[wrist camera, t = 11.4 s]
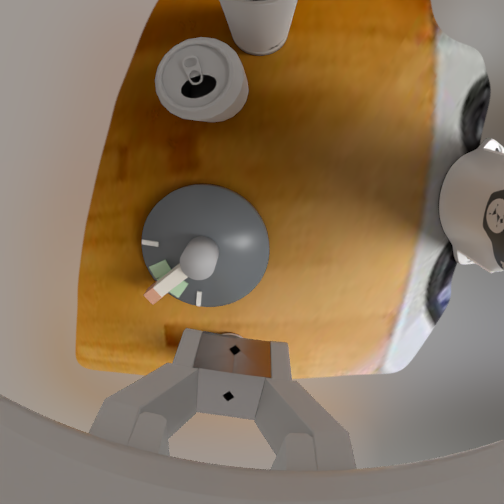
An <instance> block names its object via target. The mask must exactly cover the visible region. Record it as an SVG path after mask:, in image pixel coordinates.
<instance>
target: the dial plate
mask: <svg viewBox="0 0 504 504" xmlns="http://www.w3.org/2000/svg"><path fill="white" fill-rule="evenodd" d="M198 236H206V237H209V238H211V239H212V240H213V241H214V242H215V243H216V244H217V246H218V248H219V257H218V260H217V263H216V266H215V269H214V272H213V273H212V275H211V276H210V277H208V278H206V279H204V280H194V279H191V278H189V277H188V278H186V279H185V280H184V281H182V282H181V283H180V284H178V285H177V286H176V287H174V288H173V289H172V290H171V291H169V292H168V293H169V294H170V295H172V296H173V297H175V298H177V299H179V300H181V301H183V302H186V303H189V304H192V305H196V306H203V307H216V306H223V305H227V304H230V303H233V302H235V301H237V300H239V299H241V298H243V297H244V296H246V295H247V294H249V293H250V292H251V291H252V290H253V289H254V288H255V287H256V286H257V284H258V283H259V282H260V280H261V279H262V277H263V275H264V273H265V270H266V268H267V264H268V260H269V239H268V233H267V230H266V227H265V224H264V222H263V220H262V218H261V216H260V215H259V213H258V212H257V210H256V209H255V208H254V207H253V206H252V204H251V203H250V202H248V201H247V200H246V199H245V198H244V197H242V196H241V195H239V194H238V193H236V192H234V191H232V190H230V189H228V188H225V187H222V186H218V185H213V184H193V185H189V186H185V187H182V188H179V189H177V190H175V191H173V192H171V193H170V194H168V195H167V196H166V197H164V198H163V199H162V200H160V201H159V202H158V203H157V204H156V205H155V207H154V208H153V209H152V211H151V212H150V214H149V216H148V217H147V219H146V222H145V225H144V228H143V232H142V252H143V257H144V260H145V263H146V266H147V268H148V270H149V272H150V274H151V275H152V277H153V278H154V280H155V281H158V280H159V279H160V278H162V277H163V276H164V275H165V274H167V273H168V272H169V271H170V270H172V269H173V268H174V267H175V266H177V265H178V264H179V263H180V257H181V255H182V253H183V252H184V250H185V248H186V247H187V245H188V243H189V242H190V241H191V240H192V239H193V238H195V237H198Z"/></svg>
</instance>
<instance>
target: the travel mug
mask: <svg viewBox="0 0 504 504" xmlns="http://www.w3.org/2000/svg"><path fill="white" fill-rule="evenodd" d="M220 3H221V6H222V8H223V11H224V14H225V17H226V20H227V23H228V25H229V28H230V31H231V34H232V37H233V40H234V42H235V44H236V45H237V46H238V47H239V48H240V49H241V50H242V51H244V52H246V53H248V54H251V55H257V56H263V55H269V54H271V53H274V52H276V51H277V50H279V49H280V48H281V47H282V46H283V45H284V43H285V41H286V39H287V35H288V32H289V28H290V25H291V21H292V18H293V14H294V11H295V7H296V4H297V0H220Z"/></svg>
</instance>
